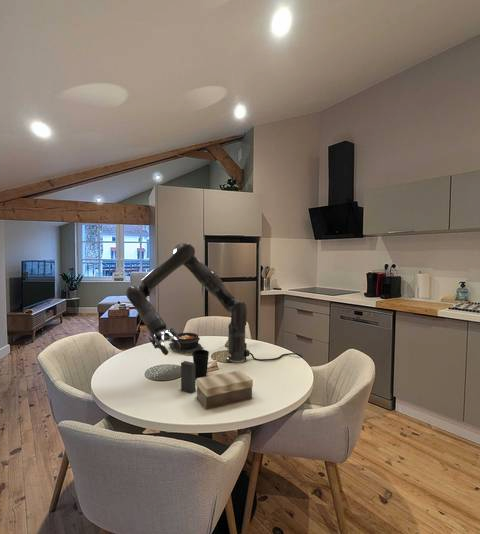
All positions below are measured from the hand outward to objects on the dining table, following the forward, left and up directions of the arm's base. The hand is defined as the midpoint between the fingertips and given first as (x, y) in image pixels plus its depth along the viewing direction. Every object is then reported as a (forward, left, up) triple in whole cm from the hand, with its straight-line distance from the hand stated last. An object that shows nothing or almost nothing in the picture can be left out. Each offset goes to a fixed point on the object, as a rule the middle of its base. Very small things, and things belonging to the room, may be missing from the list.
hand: (173, 351), depth 137 cm
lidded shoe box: (-15, +20, -16) cm, 29 cm away
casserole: (-21, -47, -16) cm, 54 cm away
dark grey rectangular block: (-4, +7, -16) cm, 18 cm away
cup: (-14, -4, -16) cm, 22 cm away
